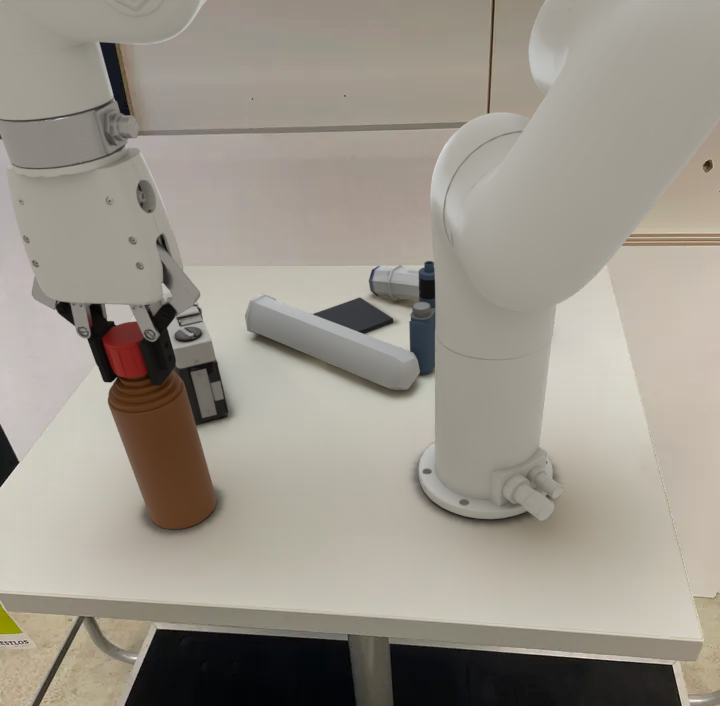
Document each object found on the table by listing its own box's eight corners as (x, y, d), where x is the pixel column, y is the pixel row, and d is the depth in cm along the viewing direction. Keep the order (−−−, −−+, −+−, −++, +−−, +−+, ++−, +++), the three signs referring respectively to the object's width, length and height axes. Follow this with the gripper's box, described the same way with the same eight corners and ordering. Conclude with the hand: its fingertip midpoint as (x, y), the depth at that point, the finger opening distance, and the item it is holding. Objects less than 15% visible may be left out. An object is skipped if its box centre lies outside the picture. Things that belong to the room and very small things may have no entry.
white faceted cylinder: (385, 258, 100) (554, 270, 86) (392, 303, 104) (555, 322, 90) (363, 272, 97) (534, 287, 83) (371, 318, 101) (536, 340, 86)
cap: (151, 347, 61) (142, 316, 59) (168, 366, 58) (158, 334, 56) (107, 363, 59) (95, 332, 57) (121, 383, 57) (110, 351, 55)
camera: (142, 373, 88) (119, 297, 82) (208, 357, 90) (190, 282, 84) (157, 434, 78) (133, 353, 72) (231, 416, 80) (214, 335, 73)
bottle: (227, 510, 68) (181, 340, 56) (163, 539, 65) (102, 369, 54) (200, 475, 72) (152, 311, 60) (139, 502, 70) (77, 336, 58)
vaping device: (443, 355, 87) (444, 259, 79) (428, 377, 83) (427, 279, 76) (423, 351, 88) (422, 257, 80) (407, 373, 84) (404, 276, 77)
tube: (432, 349, 80) (277, 292, 94) (403, 355, 76) (246, 294, 90) (422, 394, 83) (273, 332, 96) (394, 402, 79) (242, 336, 92)
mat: (393, 322, 94) (393, 318, 94) (341, 342, 91) (341, 337, 91) (360, 301, 99) (359, 297, 99) (310, 318, 96) (309, 314, 96)
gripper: (202, 118, 48) (250, 356, 60) (-11, 123, 52) (73, 347, 64) (155, 152, 43) (217, 407, 55) (-80, 156, 46) (26, 394, 58)
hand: (139, 373), depth 59 cm, fingers closed on cap, 3 cm apart
